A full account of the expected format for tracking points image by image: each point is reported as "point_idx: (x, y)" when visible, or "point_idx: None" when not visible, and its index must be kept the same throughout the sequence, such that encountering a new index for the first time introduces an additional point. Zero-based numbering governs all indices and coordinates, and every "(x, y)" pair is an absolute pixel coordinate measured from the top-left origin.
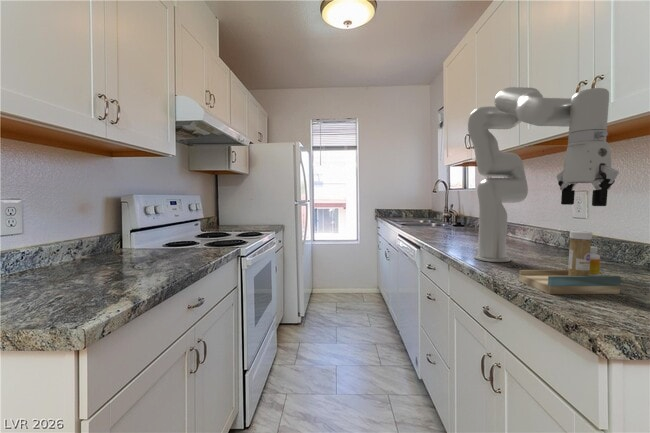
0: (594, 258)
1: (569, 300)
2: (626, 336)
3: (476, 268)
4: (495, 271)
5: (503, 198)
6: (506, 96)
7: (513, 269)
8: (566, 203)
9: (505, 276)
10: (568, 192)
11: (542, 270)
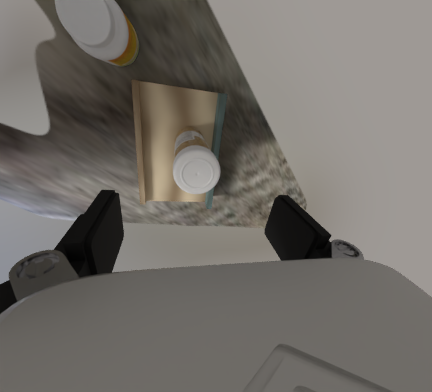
0: (127, 37)
1: (230, 191)
2: None
3: (51, 215)
4: (73, 195)
5: None
6: None
7: (42, 149)
8: (122, 226)
9: None
10: (102, 266)
11: (142, 169)
